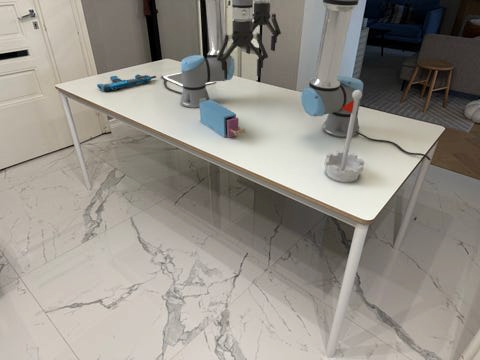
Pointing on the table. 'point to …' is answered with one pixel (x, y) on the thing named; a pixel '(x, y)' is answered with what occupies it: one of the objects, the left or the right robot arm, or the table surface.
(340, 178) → the flag stand
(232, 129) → the drawer
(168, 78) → the tablet
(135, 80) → the submachine gun
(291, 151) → the table surface
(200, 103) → the cabinet
